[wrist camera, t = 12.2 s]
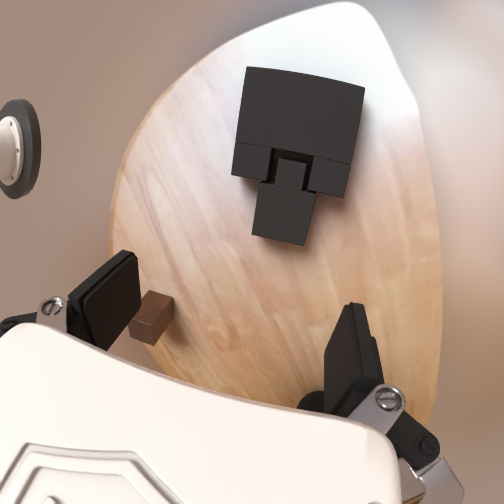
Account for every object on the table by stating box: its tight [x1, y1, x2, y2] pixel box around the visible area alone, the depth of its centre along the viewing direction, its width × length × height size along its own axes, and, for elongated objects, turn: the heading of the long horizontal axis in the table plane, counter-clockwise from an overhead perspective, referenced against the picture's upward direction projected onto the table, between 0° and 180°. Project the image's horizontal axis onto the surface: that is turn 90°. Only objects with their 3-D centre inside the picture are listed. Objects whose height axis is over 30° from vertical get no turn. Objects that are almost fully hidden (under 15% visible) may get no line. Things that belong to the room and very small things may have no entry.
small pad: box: [252, 156, 316, 246], centre depth 25 cm, size 7×5×2 cm
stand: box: [128, 290, 173, 346], centre depth 33 cm, size 4×4×6 cm
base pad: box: [231, 66, 365, 198], centre depth 22 cm, size 10×10×2 cm
